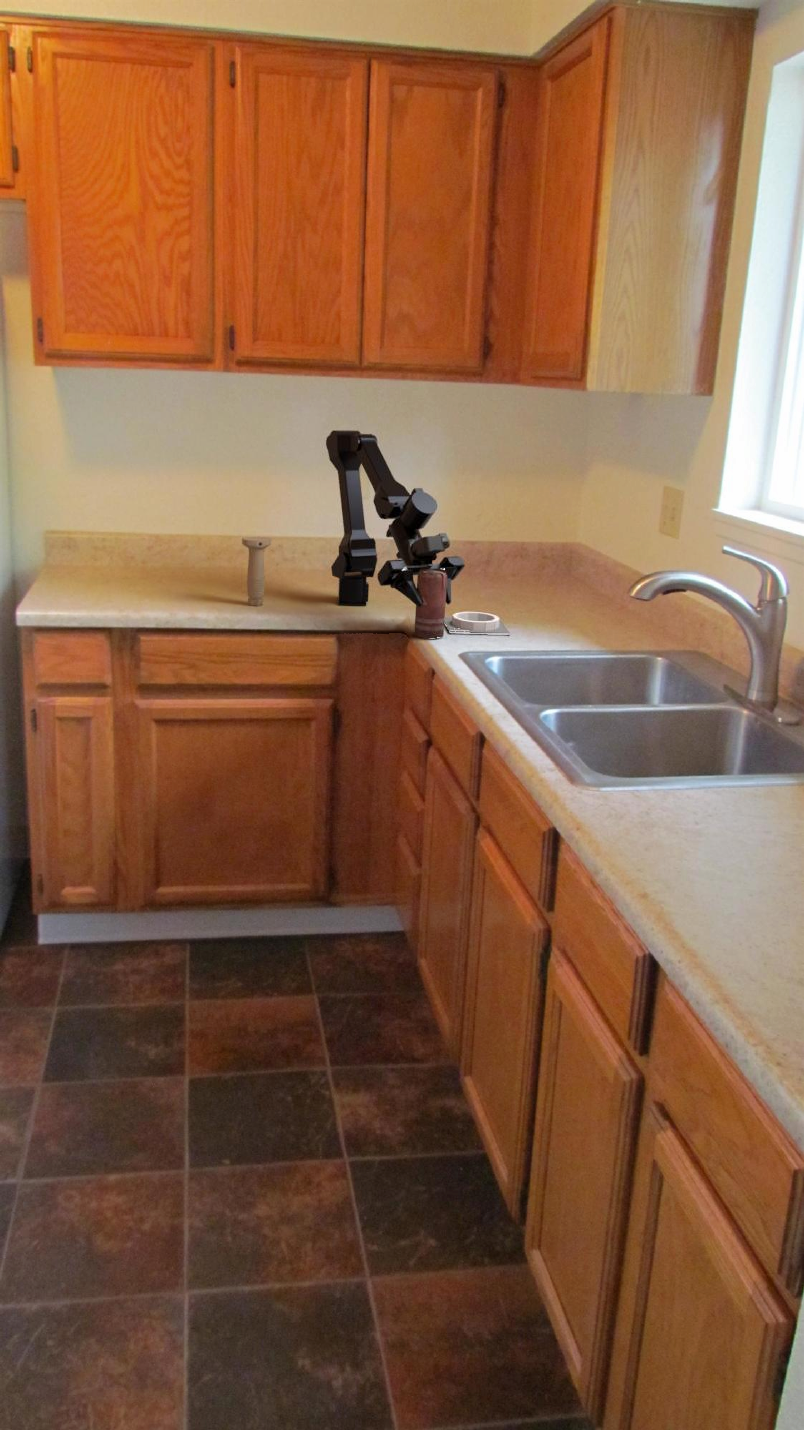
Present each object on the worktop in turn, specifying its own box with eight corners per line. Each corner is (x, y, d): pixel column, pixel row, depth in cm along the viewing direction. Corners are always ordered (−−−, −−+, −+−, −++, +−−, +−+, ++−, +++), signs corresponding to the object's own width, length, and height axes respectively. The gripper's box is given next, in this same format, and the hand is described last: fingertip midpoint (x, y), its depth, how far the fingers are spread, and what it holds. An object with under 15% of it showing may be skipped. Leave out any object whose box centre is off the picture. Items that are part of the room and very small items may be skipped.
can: (435, 641, 249) (439, 574, 245) (408, 636, 252) (412, 570, 248) (449, 636, 254) (454, 570, 250) (423, 631, 257) (427, 566, 253)
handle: (272, 606, 273) (274, 540, 268) (245, 607, 270) (246, 541, 265) (265, 601, 277) (266, 536, 272) (238, 603, 274) (239, 537, 269)
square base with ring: (449, 634, 256) (449, 623, 255) (442, 619, 268) (442, 609, 268) (509, 635, 257) (510, 624, 257) (499, 621, 270) (500, 611, 269)
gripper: (387, 521, 244) (413, 585, 239) (462, 518, 254) (489, 580, 248) (365, 553, 253) (390, 616, 248) (439, 549, 263) (465, 609, 257)
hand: (435, 604), depth 250 cm, fingers open, 7 cm apart
